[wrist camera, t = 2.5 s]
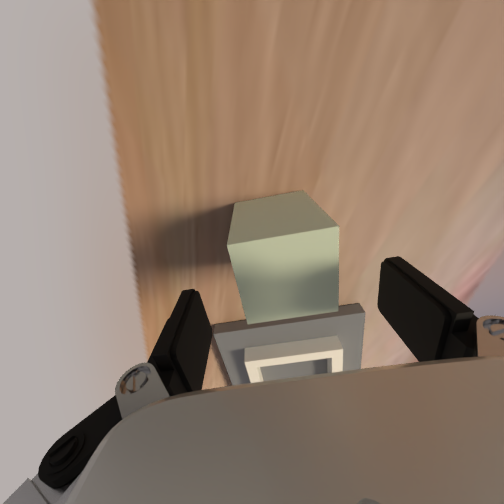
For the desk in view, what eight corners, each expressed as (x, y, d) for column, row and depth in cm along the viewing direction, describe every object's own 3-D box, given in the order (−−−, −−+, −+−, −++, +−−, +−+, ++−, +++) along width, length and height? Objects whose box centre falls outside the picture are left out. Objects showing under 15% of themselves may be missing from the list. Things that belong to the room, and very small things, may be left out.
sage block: (234, 202, 16) (226, 245, 10) (303, 190, 16) (339, 226, 10) (247, 260, 18) (247, 324, 12) (307, 251, 18) (338, 311, 12)
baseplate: (214, 324, 22) (211, 347, 19) (359, 303, 21) (373, 325, 18) (242, 402, 28) (242, 426, 26) (353, 388, 27) (363, 413, 25)
